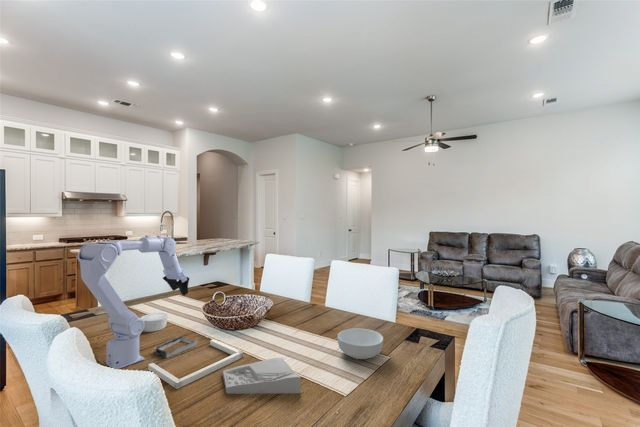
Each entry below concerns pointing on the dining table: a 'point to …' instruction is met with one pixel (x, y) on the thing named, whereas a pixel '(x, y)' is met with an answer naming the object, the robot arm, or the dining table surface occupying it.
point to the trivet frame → (202, 372)
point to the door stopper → (262, 378)
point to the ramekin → (154, 321)
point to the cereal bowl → (360, 343)
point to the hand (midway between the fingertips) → (180, 291)
